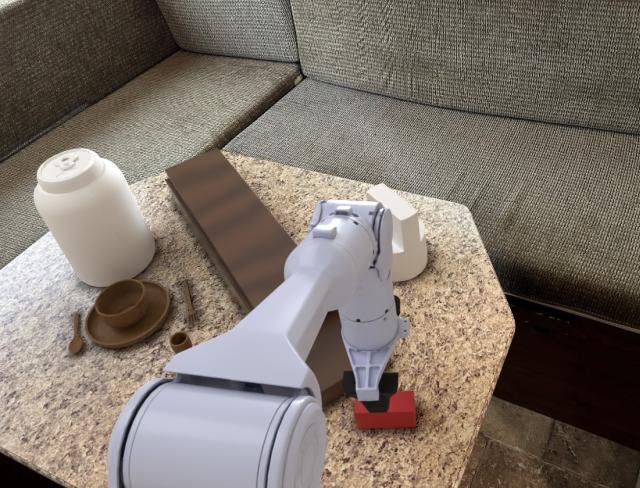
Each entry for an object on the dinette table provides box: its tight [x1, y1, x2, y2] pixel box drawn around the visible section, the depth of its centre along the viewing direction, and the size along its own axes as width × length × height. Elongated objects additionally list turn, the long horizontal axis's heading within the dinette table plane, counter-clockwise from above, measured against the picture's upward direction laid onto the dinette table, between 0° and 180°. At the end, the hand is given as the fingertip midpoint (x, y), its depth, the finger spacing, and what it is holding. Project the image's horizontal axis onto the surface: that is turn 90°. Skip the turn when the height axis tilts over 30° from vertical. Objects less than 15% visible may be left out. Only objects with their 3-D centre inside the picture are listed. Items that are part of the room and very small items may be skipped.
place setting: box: [67, 278, 198, 355], centre depth 85 cm, size 18×20×6 cm
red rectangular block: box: [353, 390, 417, 430], centre depth 72 cm, size 7×3×4 cm, turn 89°
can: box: [32, 147, 156, 288], centre depth 93 cm, size 12×12×20 cm
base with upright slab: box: [366, 182, 428, 283], centre depth 90 cm, size 9×9×12 cm
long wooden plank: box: [164, 147, 353, 408], centre depth 93 cm, size 54×11×6 cm, turn 34°
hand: (379, 378), depth 68 cm, fingers open, 7 cm apart
